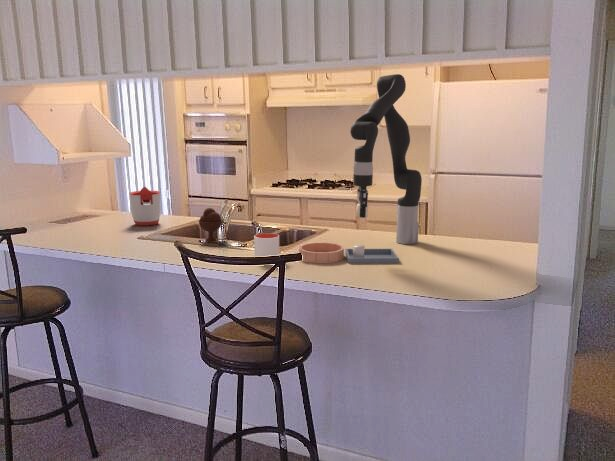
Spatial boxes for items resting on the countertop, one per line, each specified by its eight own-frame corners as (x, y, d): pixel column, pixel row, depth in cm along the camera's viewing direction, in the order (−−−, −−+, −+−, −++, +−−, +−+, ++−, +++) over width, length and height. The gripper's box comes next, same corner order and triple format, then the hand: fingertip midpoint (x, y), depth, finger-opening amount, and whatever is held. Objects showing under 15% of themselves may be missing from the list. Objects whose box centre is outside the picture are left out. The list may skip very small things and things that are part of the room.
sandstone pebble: (366, 215, 226) (367, 203, 225) (368, 217, 221) (368, 205, 220) (355, 215, 226) (355, 203, 225) (356, 217, 221) (357, 205, 220)
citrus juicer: (132, 228, 287) (130, 189, 282) (130, 222, 303) (127, 185, 298) (164, 226, 292) (162, 188, 288) (160, 220, 308) (158, 184, 304)
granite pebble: (363, 256, 229) (363, 244, 228) (364, 259, 225) (365, 247, 224) (352, 256, 229) (352, 244, 228) (353, 259, 225) (353, 247, 224)
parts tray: (391, 254, 235) (392, 248, 234) (398, 264, 220) (398, 258, 219) (345, 254, 235) (345, 248, 234) (348, 264, 219) (348, 258, 219)
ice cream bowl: (194, 241, 258) (193, 209, 255) (209, 236, 268) (208, 205, 265) (213, 244, 253) (211, 211, 250) (227, 239, 263) (226, 207, 260)
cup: (282, 257, 230) (282, 233, 228) (275, 263, 221) (275, 239, 219) (259, 256, 233) (258, 232, 230) (251, 262, 223) (250, 237, 221)
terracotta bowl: (341, 252, 238) (341, 242, 237) (344, 264, 220) (345, 252, 219) (299, 252, 238) (299, 242, 237) (299, 264, 220) (299, 253, 219)
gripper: (375, 175, 213) (373, 219, 217) (370, 171, 227) (368, 213, 231) (355, 175, 213) (354, 219, 217) (351, 171, 227) (350, 213, 231)
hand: (361, 216), depth 224 cm, fingers closed on sandstone pebble, 4 cm apart
